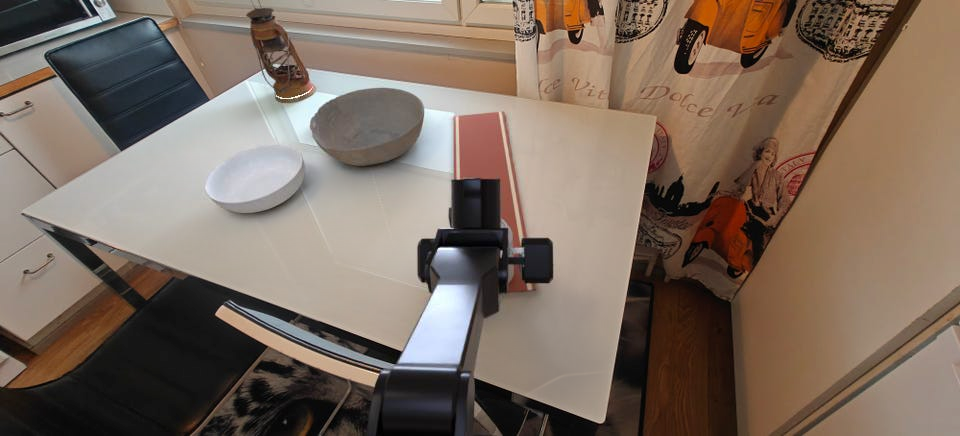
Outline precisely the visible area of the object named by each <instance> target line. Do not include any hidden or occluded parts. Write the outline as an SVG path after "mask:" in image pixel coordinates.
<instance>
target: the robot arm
mask: <svg viewBox="0 0 960 436" xmlns="http://www.w3.org/2000/svg"><path fill="white" fill-rule="evenodd" d="M450 187H451V188H450V192H451V194H450V196H451V197H450V199H451V200H450V201H451V202H450V203H451V205H450V206H449V208H448V215H447V216H448V222H449V223H448V224H449V227H438V228H437V230H436V234H435V237H423V238H421V239H420V240H419V241H418V242H417V246H416V251H417V252H416V253H417V254H416V256H417V257H416V260H417V262H416V265H417V269H416V270H417V271H416V272H417V275H416V276H417V278H418V280H419V281H420V282H421V283H422V284H426V285H427V289H428V292H429V294H431V295H430V297H429V298H428V300H427V302H426V304H425V306H424V309H423V310H422V312H421V314H420V316H419V318H418V319H417V322H416V323H415V326H414V328H413V330H412V331H411V333H410V335H409V337H408V339H407V341H406V343H405V345H404V347H403V349H402V351H401V352H400V355H399V357H398V359H397V360H396V363H395V364H394V366H393V367H392V368H387V367H386V368H383V369H381V371H380V372H379V373H378V375H377V378H376V380H375V384H374V388H373V392H372V397H371V402H370V407H369V413H368V420H367V425H366V431H365V434H364V436H496V435H493V434H474V428H475V427H474V426H475V425H474V424H475V407H476V406H475V403H476V401H475V400H476V390H475V389H476V388H475V387H476V386H475V367H476V363H477V358H478V352H479V347H480V343H481V337H482V332H483V331H482V330H483V326H484V321H485V320H486V319H488V318H490V317H492V316H494V315H496V314H498V313H499V312H500V310H501V309H500V308H501V303H502V295H508V294H509V293H508V265H518V267H519V271H520V274H521V278H522V280H524V283H535V284H545V285H546V284H547V285H548V284H551V282H552V281H553V280H554V243H553V241H552V239H550V238H549V237H526V238H522V240H521V247H520V248H509V234H508V228H501V179H481V178H463V179H461V180H454V179H451V180H450ZM510 253H511V254H512V255H513V253H514V254H515V255H516V253H517V257H509V255H510Z"/></svg>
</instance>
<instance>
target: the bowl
mask: <svg viewBox="0 0 960 436" xmlns="http://www.w3.org/2000/svg"><path fill="white" fill-rule="evenodd" d="M424 119H425V106H424V103H423V101H422V100H421V99H420V98H419V97H418V96H417V95H415V94H413V93H412V92H409V91H407V90H403V89H401V88H400V89H399V88H392V87H370V88H362V89H357V90H353V91H349V92H347V93H344V94H341V95H339V96H336V97H334V98H332V99H329V100H328V101H326V102H325V103H323V104H322V105H321V106H320V107H319V108H318V109H317V112H315V113H314V115H313V116H312V117H311V118H310V122H309V129H310V131H311V134H312V139H313V140H314V142H315V143H316V144H317V146H318V147H319V148H320V149H321V150H322V151H323V152H325V153H326V154H327V155H329V156H330V157H332V158H333V159H335V160H337V161H339V162H342V163H343V164H347V165H350V166H356V167H357V166H361V167H364V166H371V165H378V164H381V163H386V162H389V161H392V160H394V159H397V158H398V157H400V156H403V154H405V153H406V152H408V151H409V150H410V149H412V147H413V146H414V145H415V143H416V142H417V141H418V139H419V137H420V135H421V131H422V129H423V125H424Z"/></svg>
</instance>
